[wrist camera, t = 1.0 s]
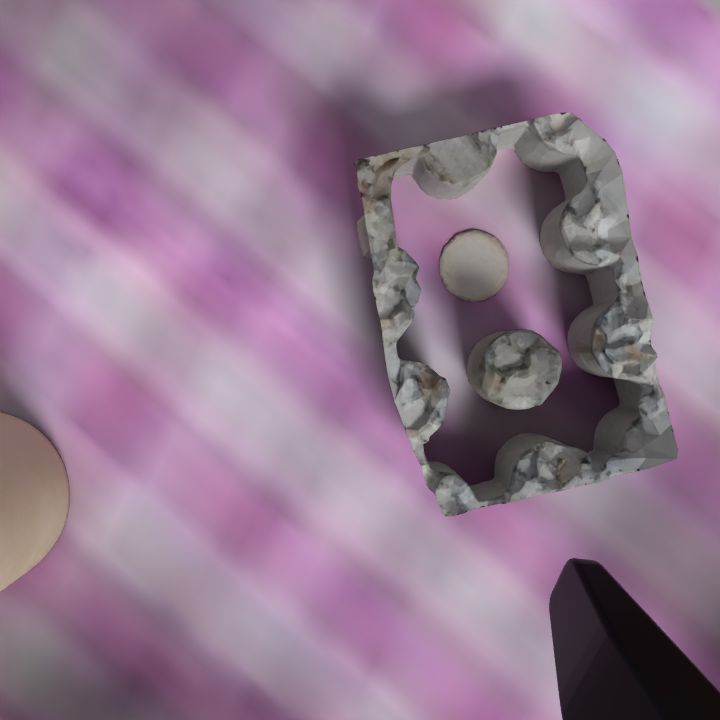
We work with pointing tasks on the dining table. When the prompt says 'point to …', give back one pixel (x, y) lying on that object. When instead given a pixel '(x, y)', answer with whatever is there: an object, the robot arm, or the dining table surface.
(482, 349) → the grey jagged ring-shaped piece
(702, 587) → the dining table surface
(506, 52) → the dining table surface
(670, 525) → the dining table surface
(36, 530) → the candle
